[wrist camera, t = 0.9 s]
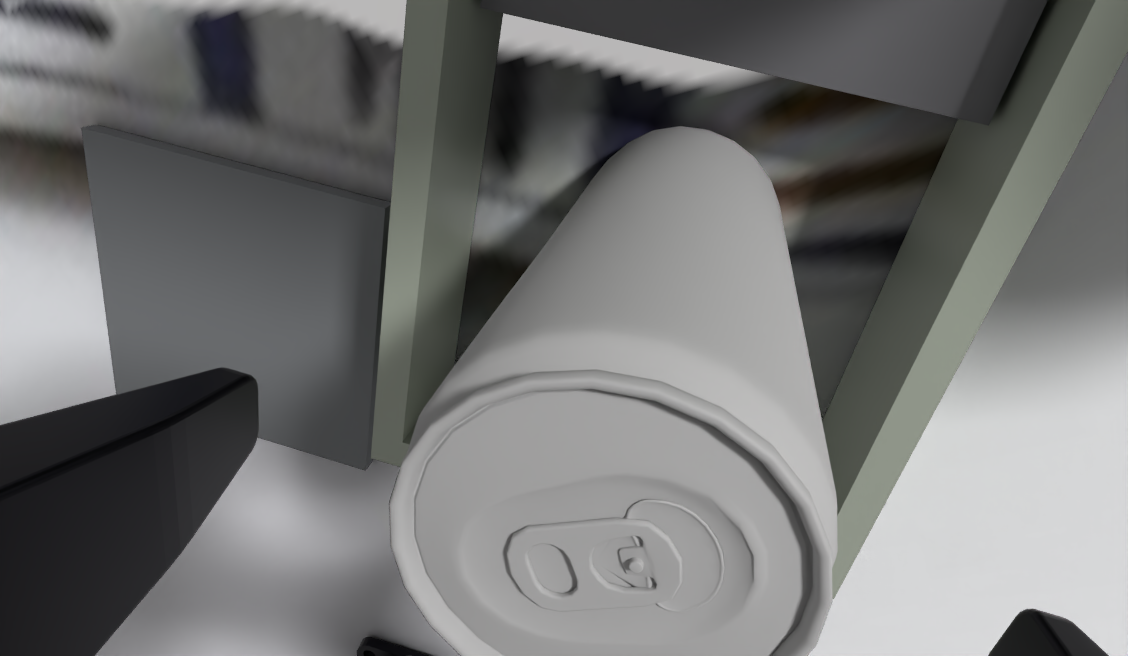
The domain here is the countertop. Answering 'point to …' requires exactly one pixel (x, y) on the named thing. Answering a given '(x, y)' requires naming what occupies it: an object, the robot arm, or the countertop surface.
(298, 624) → the countertop surface
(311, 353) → the pad
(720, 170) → the beverage can
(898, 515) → the countertop surface
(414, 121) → the case
